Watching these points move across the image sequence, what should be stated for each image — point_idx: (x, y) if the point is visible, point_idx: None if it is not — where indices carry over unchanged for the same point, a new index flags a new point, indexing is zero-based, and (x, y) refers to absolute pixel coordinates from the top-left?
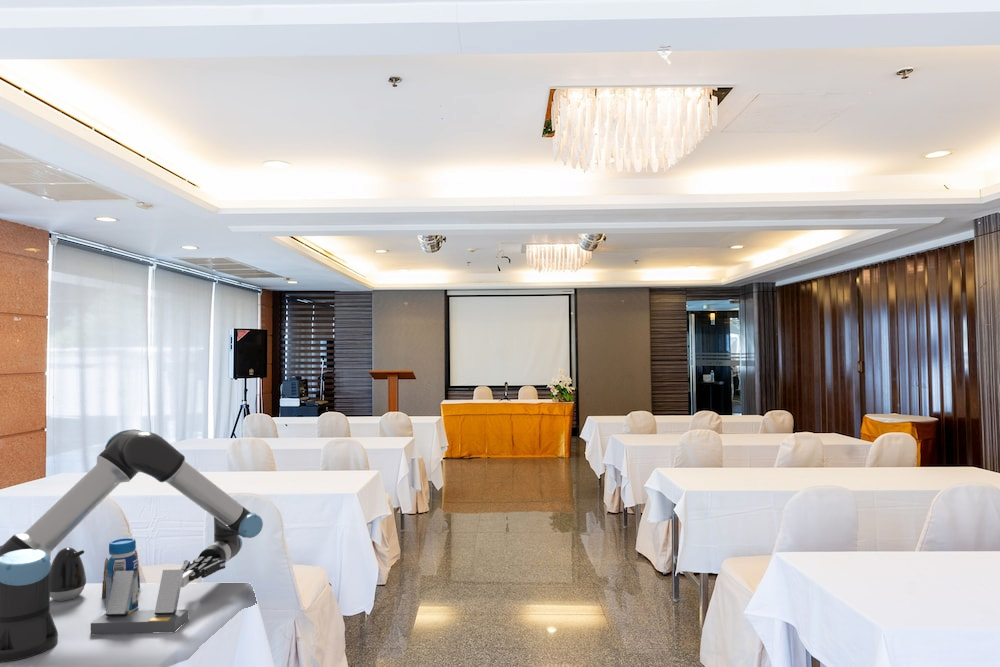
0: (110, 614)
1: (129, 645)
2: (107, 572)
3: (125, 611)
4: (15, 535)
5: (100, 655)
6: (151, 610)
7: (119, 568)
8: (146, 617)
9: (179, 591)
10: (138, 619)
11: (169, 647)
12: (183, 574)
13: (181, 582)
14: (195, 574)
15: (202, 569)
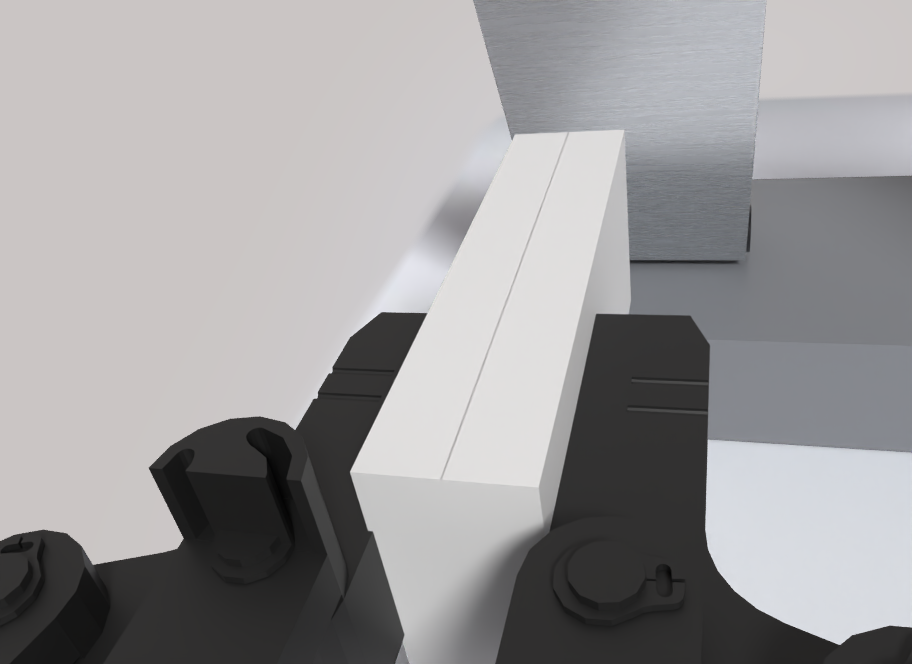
0: None
1: (766, 168)
2: None
3: None
4: None
5: (871, 109)
6: (898, 340)
7: None
8: (823, 230)
9: (507, 104)
10: (879, 206)
11: (497, 157)
12: (576, 229)
13: (480, 20)
14: (310, 429)
15: (49, 549)
